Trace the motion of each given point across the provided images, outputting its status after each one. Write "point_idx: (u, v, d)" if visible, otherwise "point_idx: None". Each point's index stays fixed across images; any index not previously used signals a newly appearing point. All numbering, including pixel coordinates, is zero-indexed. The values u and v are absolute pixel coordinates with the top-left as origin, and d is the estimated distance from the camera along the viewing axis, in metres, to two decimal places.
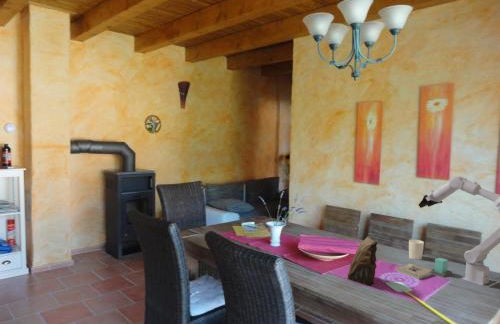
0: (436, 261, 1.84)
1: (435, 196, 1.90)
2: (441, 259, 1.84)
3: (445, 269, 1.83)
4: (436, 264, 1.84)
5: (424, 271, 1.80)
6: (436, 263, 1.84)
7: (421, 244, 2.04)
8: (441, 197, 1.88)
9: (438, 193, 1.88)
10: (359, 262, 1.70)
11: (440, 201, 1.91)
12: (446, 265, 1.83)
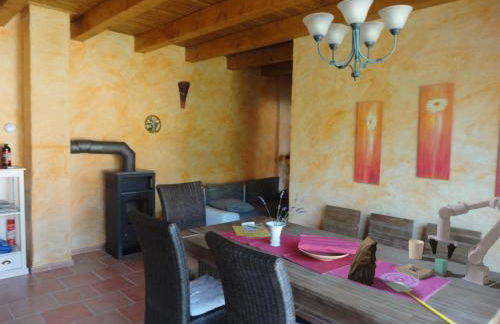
0: (436, 261, 1.84)
1: (448, 238, 1.81)
2: (441, 259, 1.84)
3: (445, 269, 1.83)
4: (436, 264, 1.84)
5: (424, 271, 1.80)
6: (436, 263, 1.84)
7: (421, 244, 2.04)
8: None
9: (448, 233, 1.81)
10: (359, 262, 1.70)
11: None
12: (446, 265, 1.83)
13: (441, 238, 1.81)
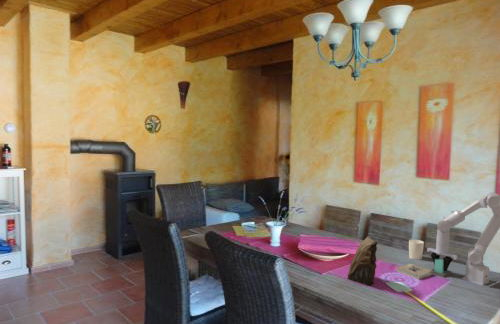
0: (436, 261, 1.84)
1: (447, 251, 1.82)
2: (441, 259, 1.84)
3: None
4: (436, 264, 1.84)
5: (424, 271, 1.80)
6: (436, 263, 1.84)
7: (421, 244, 2.04)
8: None
9: (447, 247, 1.81)
10: (359, 262, 1.70)
11: None
12: None
13: (440, 251, 1.82)
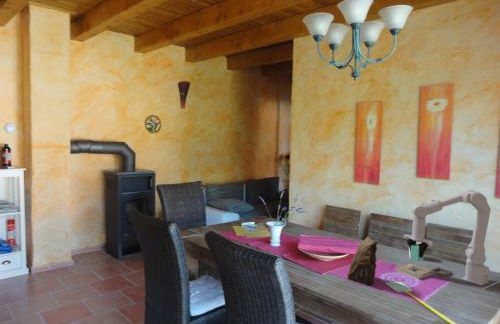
0: (412, 247, 1.82)
1: (423, 237, 1.80)
2: (417, 245, 1.83)
3: None
4: (412, 250, 1.83)
5: (424, 271, 1.80)
6: (412, 249, 1.83)
7: None
8: None
9: (423, 233, 1.80)
10: (359, 262, 1.70)
11: None
12: None
13: (416, 237, 1.80)
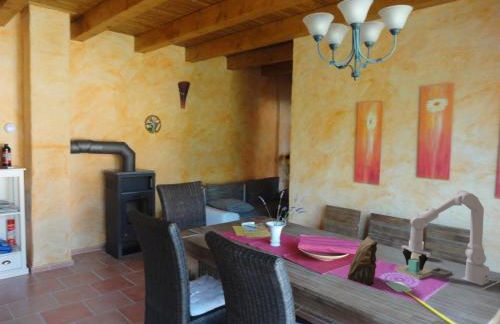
0: (409, 261, 1.83)
1: (421, 249, 1.81)
2: (415, 259, 1.84)
3: (419, 269, 1.82)
4: (409, 264, 1.83)
5: (424, 271, 1.80)
6: (409, 263, 1.83)
7: None
8: None
9: (421, 244, 1.80)
10: (359, 262, 1.70)
11: None
12: None
13: (413, 249, 1.81)
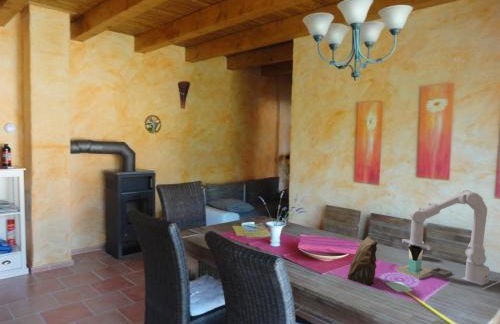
0: (409, 261, 1.83)
1: (421, 242, 1.80)
2: None
3: (419, 269, 1.82)
4: (409, 265, 1.83)
5: (424, 271, 1.80)
6: (409, 264, 1.83)
7: None
8: None
9: (421, 237, 1.80)
10: (359, 262, 1.70)
11: None
12: (420, 265, 1.83)
13: (414, 242, 1.80)
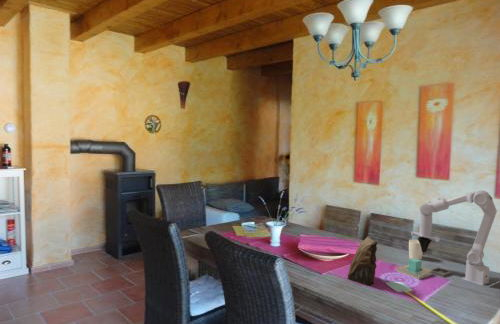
0: (409, 261, 1.83)
1: (430, 234, 1.87)
2: (415, 259, 1.84)
3: (419, 269, 1.82)
4: (409, 264, 1.83)
5: (424, 271, 1.80)
6: (409, 263, 1.83)
7: None
8: None
9: (430, 229, 1.87)
10: (359, 262, 1.70)
11: None
12: (420, 265, 1.83)
13: (423, 234, 1.88)
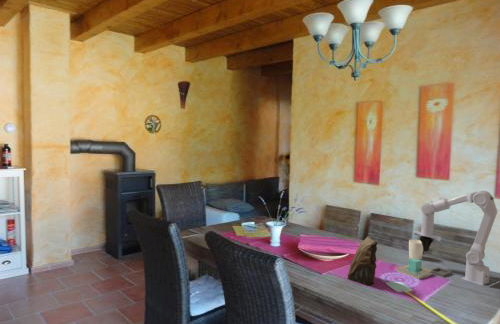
0: (409, 261, 1.83)
1: (432, 233, 1.89)
2: (415, 259, 1.84)
3: (419, 269, 1.82)
4: (409, 264, 1.83)
5: (424, 271, 1.80)
6: (409, 263, 1.83)
7: (421, 244, 2.04)
8: None
9: (432, 229, 1.89)
10: (359, 262, 1.70)
11: None
12: (420, 265, 1.83)
13: (425, 233, 1.89)
